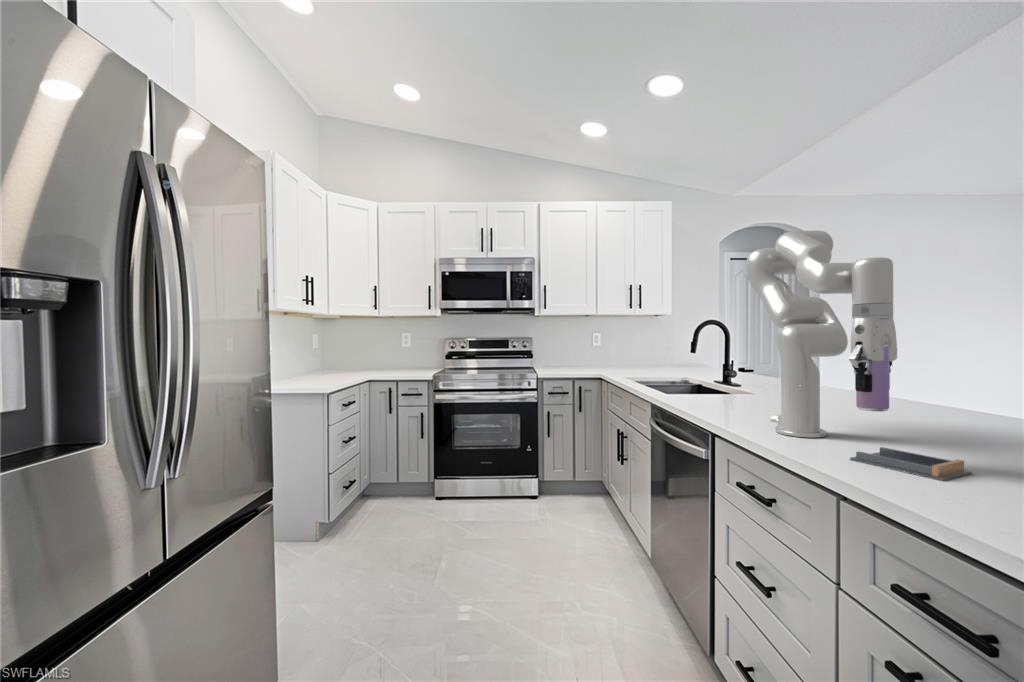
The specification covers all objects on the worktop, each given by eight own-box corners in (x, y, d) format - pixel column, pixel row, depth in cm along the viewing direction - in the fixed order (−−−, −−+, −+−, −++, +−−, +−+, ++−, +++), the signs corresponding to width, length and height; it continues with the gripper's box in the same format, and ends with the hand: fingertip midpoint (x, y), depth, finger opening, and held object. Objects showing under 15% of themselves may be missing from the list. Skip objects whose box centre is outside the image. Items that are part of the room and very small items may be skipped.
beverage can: (895, 412, 104) (895, 344, 104) (866, 411, 104) (866, 345, 104) (878, 407, 110) (878, 344, 109) (850, 407, 110) (850, 344, 110)
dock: (850, 459, 107) (850, 449, 107) (878, 454, 111) (878, 443, 111) (943, 481, 91) (943, 468, 91) (971, 473, 96) (971, 461, 95)
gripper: (867, 311, 100) (868, 394, 100) (912, 312, 107) (913, 390, 107) (831, 312, 107) (831, 391, 107) (876, 313, 114) (876, 387, 114)
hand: (872, 390), depth 107 cm, fingers closed on beverage can, 5 cm apart
